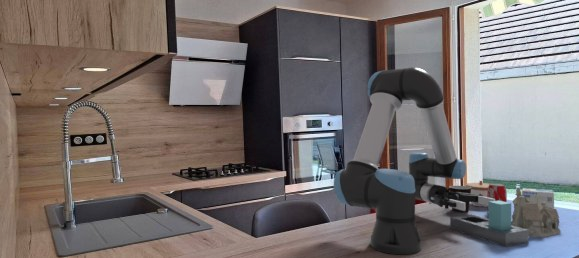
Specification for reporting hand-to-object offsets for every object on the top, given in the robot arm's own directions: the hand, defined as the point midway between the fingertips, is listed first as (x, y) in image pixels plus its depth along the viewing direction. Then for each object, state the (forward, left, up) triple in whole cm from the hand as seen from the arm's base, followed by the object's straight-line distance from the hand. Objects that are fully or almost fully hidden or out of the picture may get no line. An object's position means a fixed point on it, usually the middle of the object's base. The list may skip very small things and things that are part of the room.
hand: (480, 204), depth 130 cm
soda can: (+29, +17, -10) cm, 35 cm away
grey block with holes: (0, -3, -10) cm, 10 cm away
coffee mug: (+20, +28, -10) cm, 36 cm away
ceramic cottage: (+19, -6, -10) cm, 22 cm away
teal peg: (0, -8, -10) cm, 12 cm away
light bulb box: (+38, +6, -10) cm, 40 cm away
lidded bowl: (+36, +31, -10) cm, 48 cm away
